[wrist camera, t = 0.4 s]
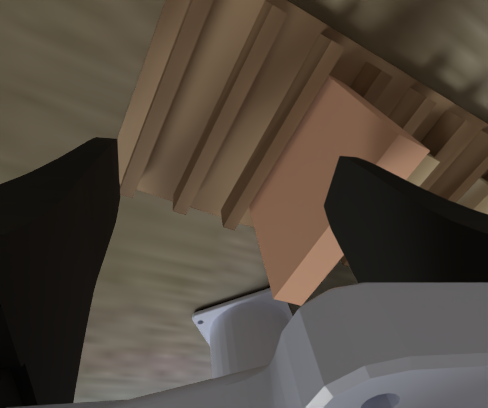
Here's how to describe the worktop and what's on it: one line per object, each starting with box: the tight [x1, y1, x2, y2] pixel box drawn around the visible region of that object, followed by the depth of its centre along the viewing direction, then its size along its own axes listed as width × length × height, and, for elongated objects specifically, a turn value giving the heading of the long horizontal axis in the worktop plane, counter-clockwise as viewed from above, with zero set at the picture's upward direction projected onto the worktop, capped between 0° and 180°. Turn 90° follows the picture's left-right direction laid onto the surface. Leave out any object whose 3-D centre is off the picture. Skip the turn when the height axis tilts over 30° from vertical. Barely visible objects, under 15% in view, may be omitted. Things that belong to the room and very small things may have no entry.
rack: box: [117, 0, 488, 267], centre depth 23 cm, size 26×13×3 cm, turn 63°
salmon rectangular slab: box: [249, 75, 430, 306], centre depth 18 cm, size 2×9×8 cm, turn 153°
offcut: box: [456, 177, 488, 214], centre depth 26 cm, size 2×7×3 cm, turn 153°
